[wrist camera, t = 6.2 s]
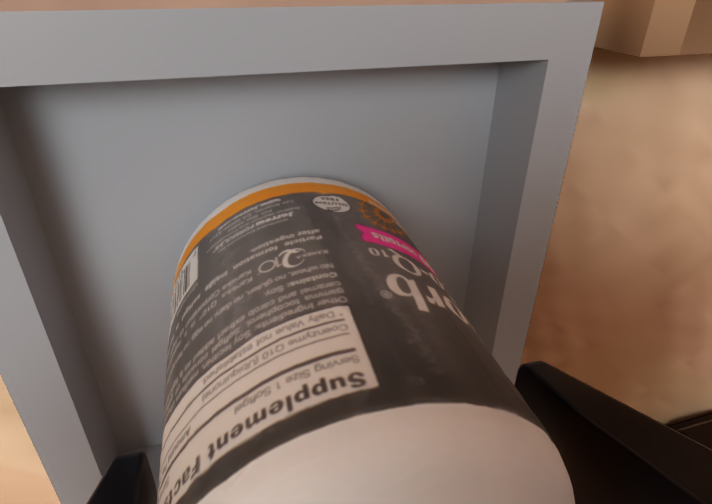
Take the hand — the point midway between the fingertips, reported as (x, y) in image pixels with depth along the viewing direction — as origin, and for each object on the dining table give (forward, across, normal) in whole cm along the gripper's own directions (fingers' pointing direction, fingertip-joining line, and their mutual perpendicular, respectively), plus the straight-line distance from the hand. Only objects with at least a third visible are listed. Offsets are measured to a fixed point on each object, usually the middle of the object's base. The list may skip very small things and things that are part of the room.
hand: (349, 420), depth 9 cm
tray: (+6, 0, 0) cm, 6 cm away
